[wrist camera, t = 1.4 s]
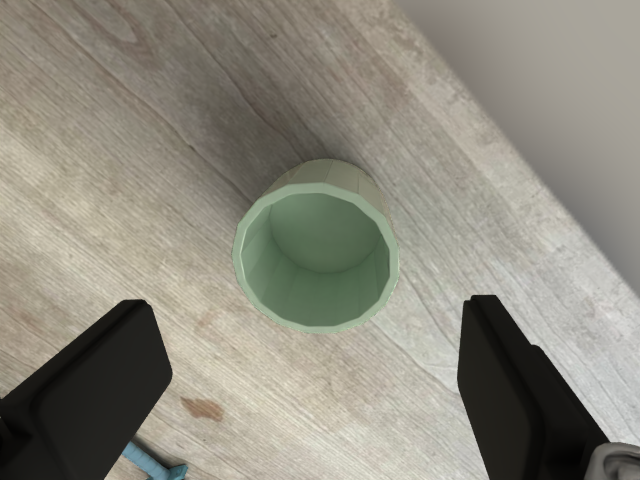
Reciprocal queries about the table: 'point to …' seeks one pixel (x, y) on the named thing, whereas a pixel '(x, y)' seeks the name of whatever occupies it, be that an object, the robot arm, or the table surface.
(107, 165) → the table surface
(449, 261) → the table surface
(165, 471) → the knife
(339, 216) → the green tumbler
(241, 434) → the table surface
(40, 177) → the table surface
